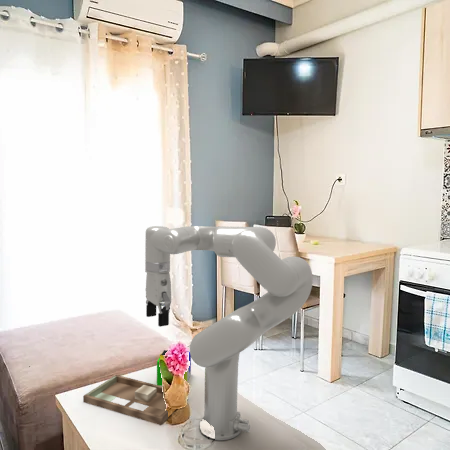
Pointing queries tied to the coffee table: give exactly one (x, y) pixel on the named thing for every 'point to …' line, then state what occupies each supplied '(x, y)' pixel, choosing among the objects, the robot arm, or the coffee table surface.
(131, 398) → the box
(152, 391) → the block
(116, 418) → the coffee table surface
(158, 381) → the puzzle toy
